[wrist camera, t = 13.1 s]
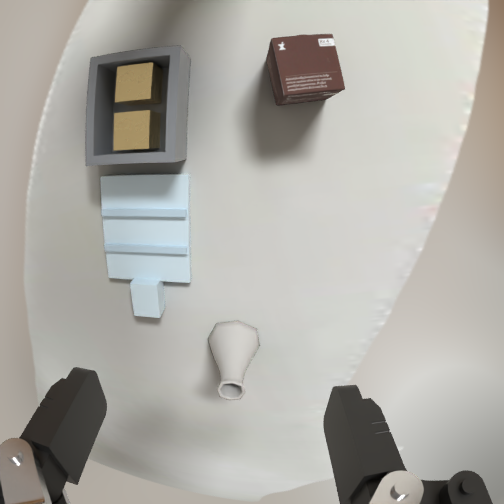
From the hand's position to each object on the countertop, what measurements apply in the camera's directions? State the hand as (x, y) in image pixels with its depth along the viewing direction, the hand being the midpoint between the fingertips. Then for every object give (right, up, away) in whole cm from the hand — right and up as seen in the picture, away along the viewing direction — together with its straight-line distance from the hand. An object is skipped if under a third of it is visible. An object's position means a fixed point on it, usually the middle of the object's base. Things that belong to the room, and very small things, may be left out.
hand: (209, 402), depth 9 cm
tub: (-11, +21, +22) cm, 32 cm away
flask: (-1, -7, +33) cm, 34 cm away
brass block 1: (-11, +23, +21) cm, 33 cm away
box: (+6, +24, +21) cm, 33 cm away
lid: (-11, +6, +28) cm, 31 cm away
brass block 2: (-11, +19, +22) cm, 31 cm away
